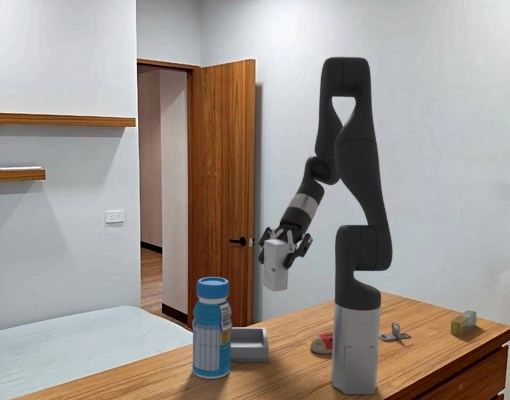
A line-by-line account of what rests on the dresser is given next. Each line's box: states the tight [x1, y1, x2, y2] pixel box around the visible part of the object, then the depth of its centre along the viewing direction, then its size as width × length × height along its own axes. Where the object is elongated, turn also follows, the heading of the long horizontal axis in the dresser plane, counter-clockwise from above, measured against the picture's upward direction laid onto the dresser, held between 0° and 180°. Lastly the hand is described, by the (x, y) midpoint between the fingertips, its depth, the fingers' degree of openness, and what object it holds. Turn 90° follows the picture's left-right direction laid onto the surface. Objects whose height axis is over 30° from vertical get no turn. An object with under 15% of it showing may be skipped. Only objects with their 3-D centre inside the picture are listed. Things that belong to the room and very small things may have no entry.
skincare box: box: [262, 239, 290, 292], centre depth 125 cm, size 6×4×12 cm
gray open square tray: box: [230, 326, 270, 363], centre depth 116 cm, size 12×12×4 cm
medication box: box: [450, 310, 477, 337], centre depth 134 cm, size 12×3×4 cm, turn 137°
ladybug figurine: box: [309, 331, 333, 355], centre depth 119 cm, size 7×10×4 cm
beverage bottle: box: [191, 276, 233, 380], centre depth 104 cm, size 8×8×20 cm
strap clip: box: [379, 321, 412, 342], centre depth 127 cm, size 8×3×4 cm, turn 111°
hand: (272, 265), depth 124 cm, fingers closed on skincare box, 7 cm apart
